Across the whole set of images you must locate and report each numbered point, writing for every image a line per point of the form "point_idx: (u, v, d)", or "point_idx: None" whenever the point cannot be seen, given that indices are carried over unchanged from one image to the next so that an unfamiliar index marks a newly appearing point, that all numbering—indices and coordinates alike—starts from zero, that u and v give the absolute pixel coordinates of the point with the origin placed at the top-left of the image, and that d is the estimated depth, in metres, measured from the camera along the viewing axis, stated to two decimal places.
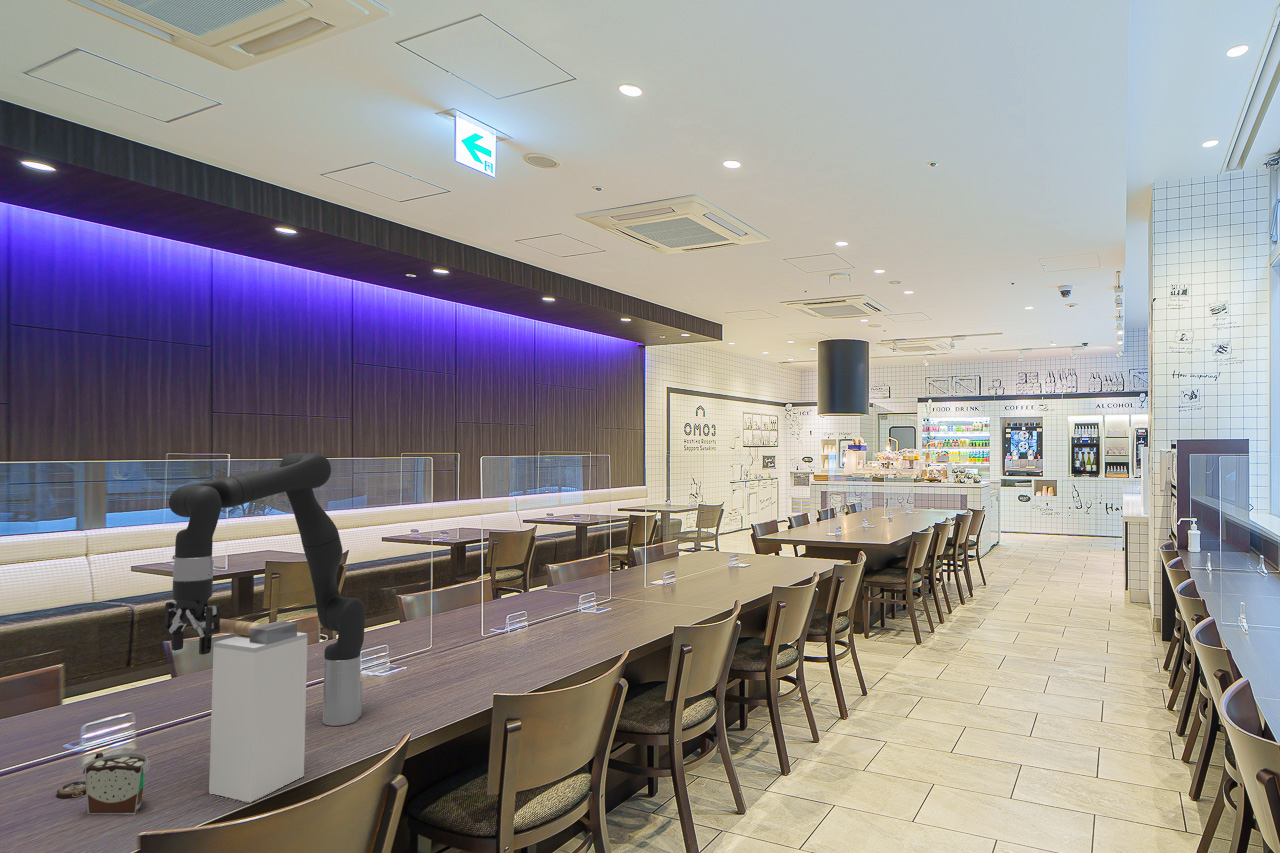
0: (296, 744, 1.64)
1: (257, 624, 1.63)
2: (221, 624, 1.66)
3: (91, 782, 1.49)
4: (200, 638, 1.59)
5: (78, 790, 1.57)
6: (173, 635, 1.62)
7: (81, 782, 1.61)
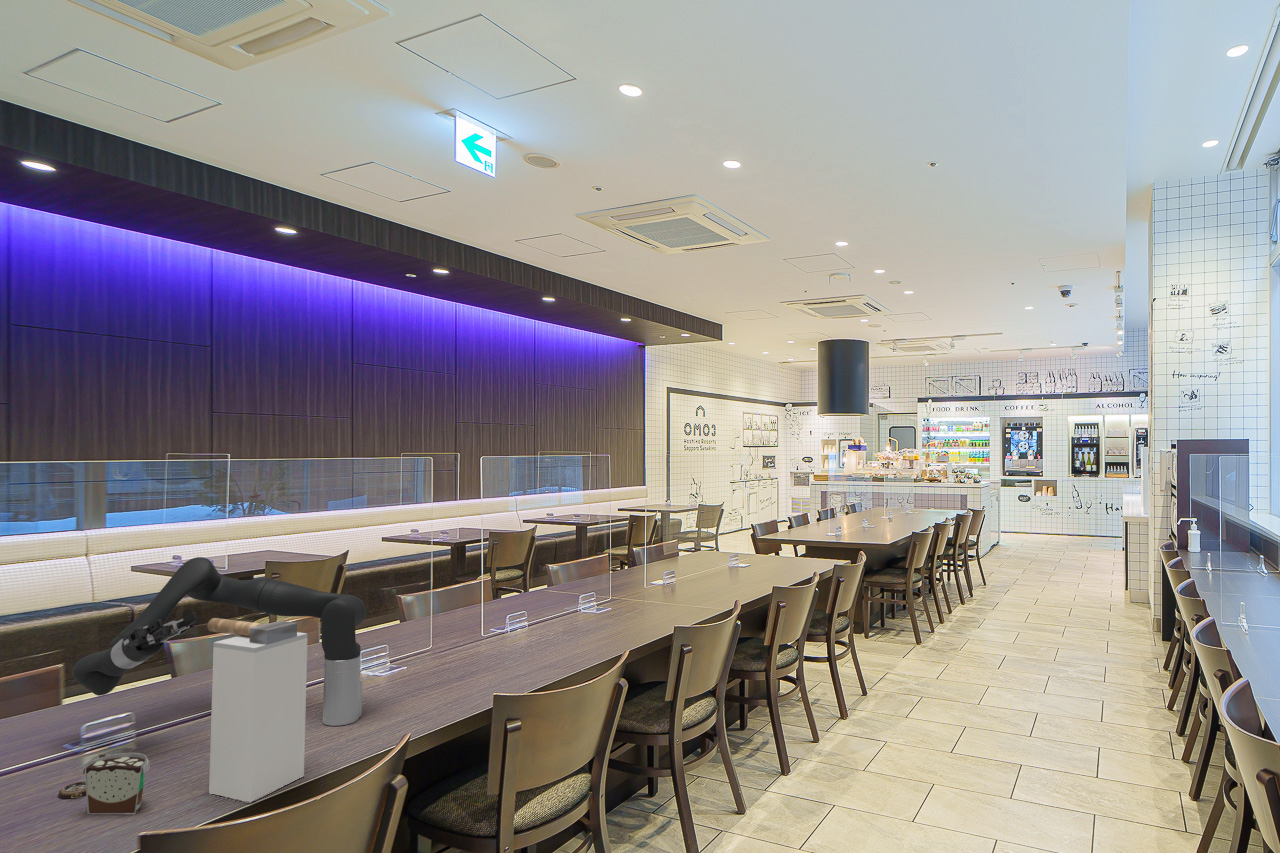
0: (296, 744, 1.64)
1: (257, 624, 1.63)
2: (221, 624, 1.66)
3: (91, 782, 1.49)
4: (153, 633, 1.73)
5: (78, 791, 1.56)
6: (187, 626, 1.81)
7: (84, 783, 1.60)
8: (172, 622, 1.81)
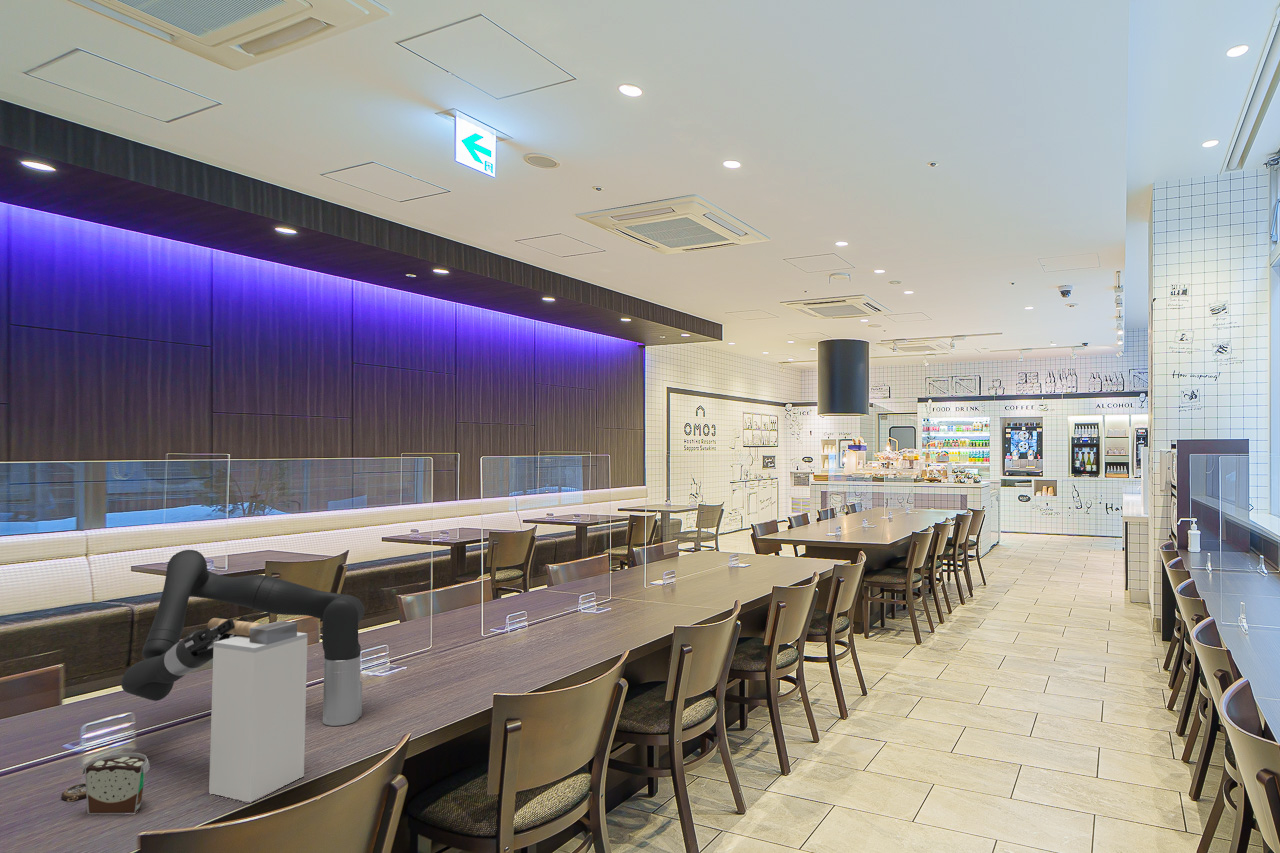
0: (296, 744, 1.64)
1: (257, 624, 1.63)
2: None
3: (91, 782, 1.49)
4: (224, 633, 1.65)
5: (77, 794, 1.55)
6: None
7: None
8: None
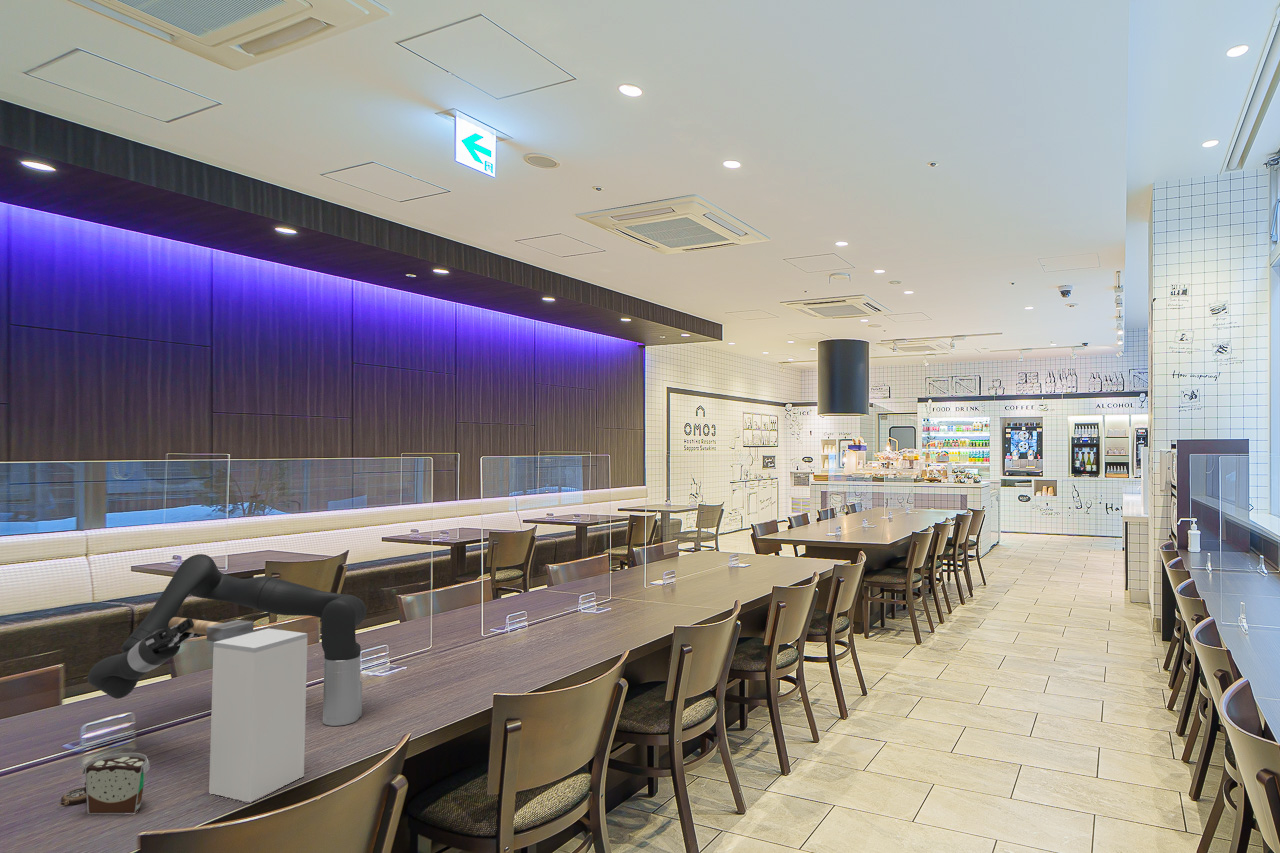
0: (296, 744, 1.64)
1: (215, 623, 1.71)
2: None
3: (91, 782, 1.49)
4: (183, 632, 1.73)
5: (70, 799, 1.53)
6: None
7: None
8: None
